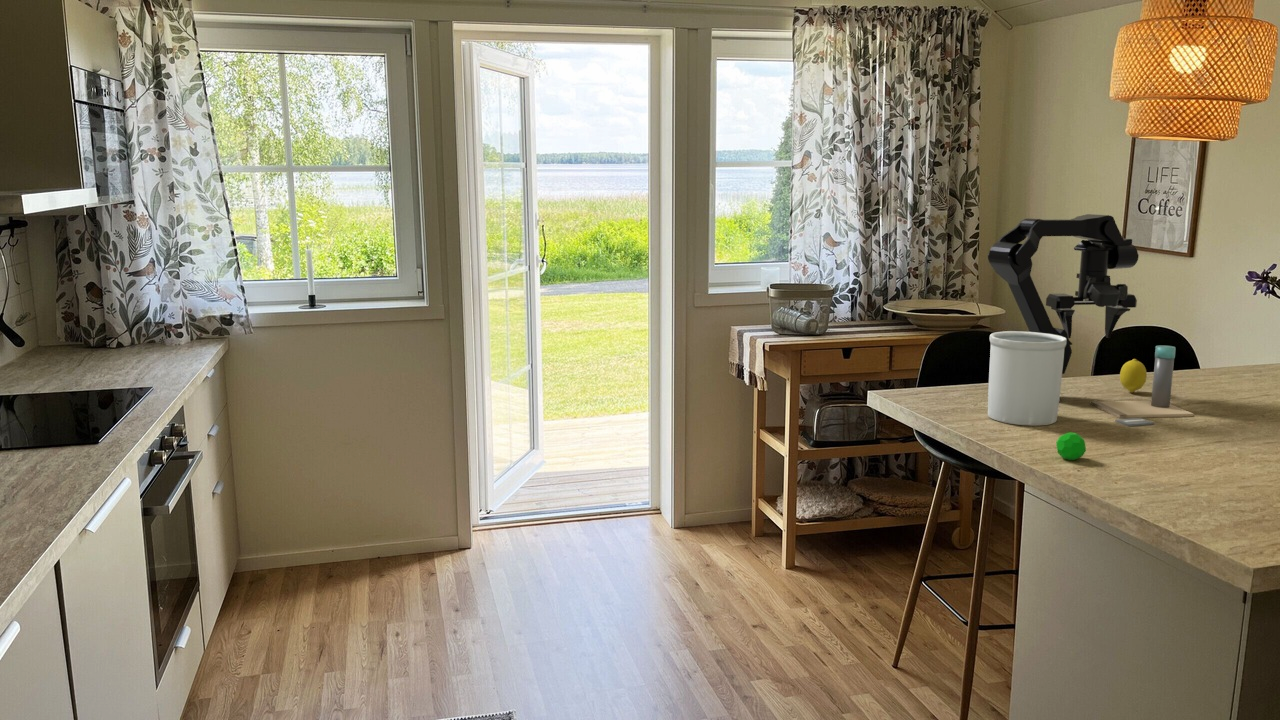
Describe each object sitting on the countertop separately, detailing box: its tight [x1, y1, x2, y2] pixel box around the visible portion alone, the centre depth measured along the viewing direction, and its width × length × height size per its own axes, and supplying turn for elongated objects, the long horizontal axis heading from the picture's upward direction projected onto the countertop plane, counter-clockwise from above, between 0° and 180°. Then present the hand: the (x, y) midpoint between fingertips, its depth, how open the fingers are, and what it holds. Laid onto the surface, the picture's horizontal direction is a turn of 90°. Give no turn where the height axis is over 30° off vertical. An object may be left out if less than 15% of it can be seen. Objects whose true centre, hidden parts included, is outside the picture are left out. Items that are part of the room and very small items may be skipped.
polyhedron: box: [1055, 431, 1087, 461], centre depth 176 cm, size 5×5×5 cm
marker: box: [1150, 344, 1176, 408], centre depth 211 cm, size 4×4×13 cm
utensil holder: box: [987, 330, 1067, 427], centre depth 204 cm, size 15×15×18 cm
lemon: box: [1119, 358, 1148, 394], centre depth 226 cm, size 6×6×8 cm
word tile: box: [1114, 417, 1155, 427], centre depth 201 cm, size 6×4×1 cm, turn 103°
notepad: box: [1090, 399, 1194, 419], centre depth 211 cm, size 16×12×1 cm
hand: (1088, 337), depth 225 cm, fingers open, 9 cm apart
